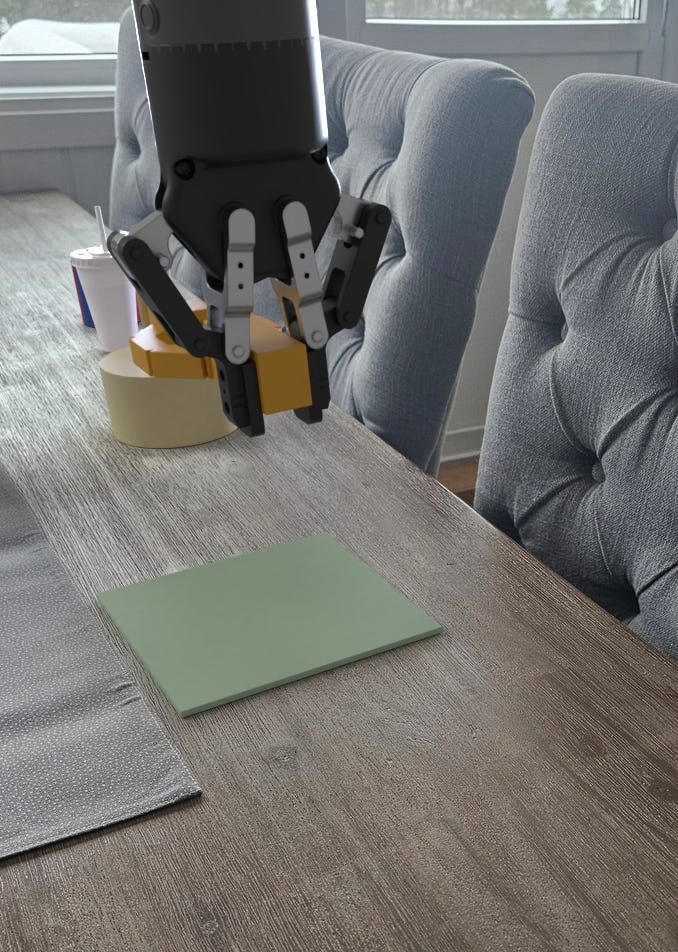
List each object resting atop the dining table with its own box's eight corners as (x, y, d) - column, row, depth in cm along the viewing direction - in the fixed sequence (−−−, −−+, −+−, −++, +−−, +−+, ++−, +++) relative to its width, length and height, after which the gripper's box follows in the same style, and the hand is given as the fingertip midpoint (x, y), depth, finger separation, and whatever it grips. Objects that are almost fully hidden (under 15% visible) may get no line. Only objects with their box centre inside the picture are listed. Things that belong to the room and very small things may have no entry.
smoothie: (118, 359, 115) (89, 214, 107) (76, 350, 118) (45, 208, 110) (164, 343, 119) (140, 203, 112) (123, 335, 122) (96, 198, 115)
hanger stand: (135, 458, 91) (100, 281, 84) (97, 420, 99) (62, 255, 92) (261, 430, 96) (238, 260, 89) (215, 396, 104) (191, 237, 97)
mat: (181, 718, 59) (180, 712, 59) (96, 599, 71) (95, 593, 71) (442, 632, 66) (442, 626, 66) (326, 536, 78) (326, 531, 78)
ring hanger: (112, 346, 65) (101, 293, 63) (238, 324, 68) (231, 273, 67) (213, 427, 53) (203, 364, 51) (361, 395, 56) (355, 335, 55)
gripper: (339, 20, 53) (369, 381, 62) (38, 37, 47) (121, 433, 56) (416, 23, 48) (436, 418, 57) (87, 42, 41) (170, 481, 51)
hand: (279, 424), depth 56 cm, fingers closed on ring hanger, 2 cm apart
